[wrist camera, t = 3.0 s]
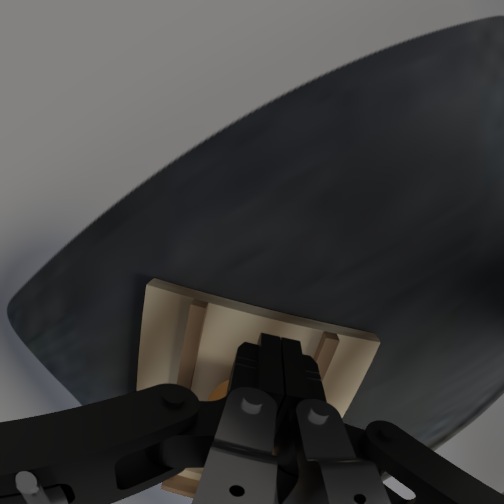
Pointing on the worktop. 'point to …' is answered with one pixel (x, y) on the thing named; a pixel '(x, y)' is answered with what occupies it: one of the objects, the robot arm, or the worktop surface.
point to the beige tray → (226, 344)
